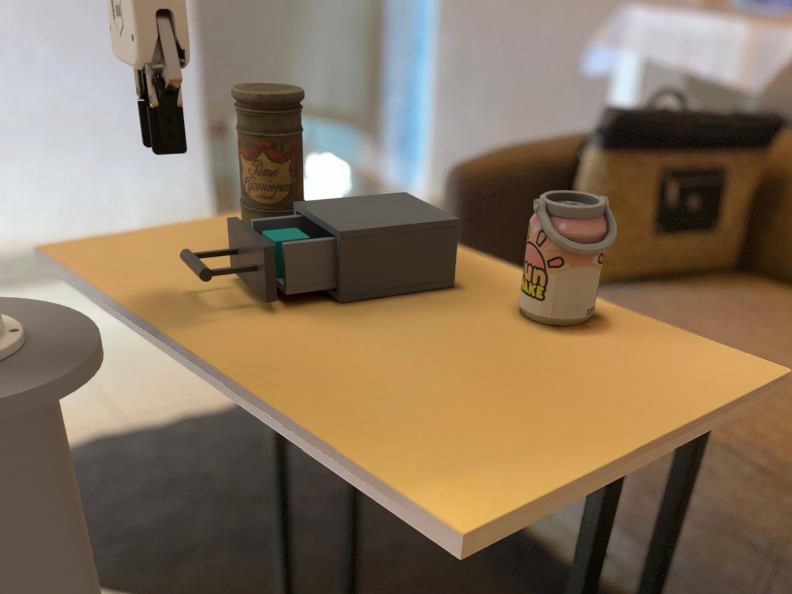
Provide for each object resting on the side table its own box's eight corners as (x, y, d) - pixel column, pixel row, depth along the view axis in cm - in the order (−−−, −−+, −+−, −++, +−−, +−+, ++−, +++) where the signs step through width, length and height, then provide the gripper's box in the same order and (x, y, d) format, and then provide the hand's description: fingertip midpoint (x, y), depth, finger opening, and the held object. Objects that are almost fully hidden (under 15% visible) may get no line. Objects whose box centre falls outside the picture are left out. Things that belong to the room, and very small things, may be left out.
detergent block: (277, 278, 91) (275, 241, 88) (263, 267, 93) (261, 230, 91) (311, 274, 92) (310, 237, 90) (297, 263, 95) (296, 227, 93)
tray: (208, 311, 85) (203, 253, 82) (177, 276, 93) (170, 222, 90) (381, 287, 93) (382, 233, 90) (338, 257, 101) (338, 207, 98)
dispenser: (339, 303, 91) (339, 231, 86) (295, 268, 100) (293, 201, 95) (454, 286, 97) (459, 218, 92) (403, 255, 106) (405, 191, 101)
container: (243, 234, 110) (232, 79, 99) (311, 237, 110) (308, 83, 100) (234, 255, 103) (222, 90, 92) (308, 258, 103) (304, 94, 93)
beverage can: (613, 328, 88) (636, 209, 81) (542, 335, 86) (559, 213, 79) (571, 298, 95) (589, 186, 88) (504, 303, 93) (517, 189, 86)
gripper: (71, -92, 74) (106, 136, 84) (114, -93, 62) (147, 171, 73) (156, -87, 77) (179, 132, 88) (212, -87, 65) (230, 165, 76)
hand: (164, 148), depth 80 cm, fingers closed
